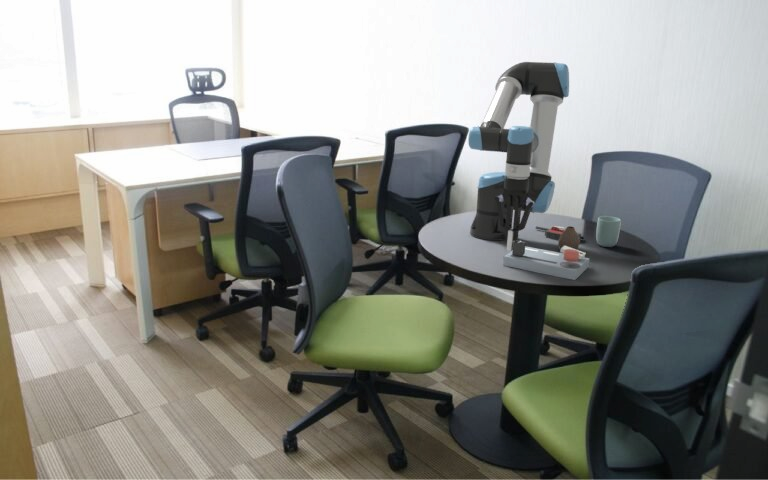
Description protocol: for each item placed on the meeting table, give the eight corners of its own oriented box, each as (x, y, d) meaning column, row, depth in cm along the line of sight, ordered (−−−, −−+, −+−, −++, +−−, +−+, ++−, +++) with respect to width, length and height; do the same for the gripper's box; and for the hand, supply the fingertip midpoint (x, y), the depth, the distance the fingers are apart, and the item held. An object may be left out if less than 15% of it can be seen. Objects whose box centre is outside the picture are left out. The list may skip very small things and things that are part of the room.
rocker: (559, 251, 202) (561, 248, 201) (563, 248, 205) (564, 245, 205) (581, 259, 199) (582, 255, 198) (584, 256, 202) (586, 252, 201)
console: (502, 265, 203) (504, 252, 202) (519, 253, 215) (520, 241, 214) (574, 280, 191) (576, 266, 190) (588, 267, 204) (589, 254, 202)
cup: (618, 249, 224) (622, 222, 221) (595, 247, 225) (599, 220, 222) (615, 243, 231) (619, 216, 228) (593, 241, 232) (596, 215, 230)
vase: (554, 251, 219) (556, 227, 217) (563, 247, 224) (565, 223, 222) (572, 256, 215) (575, 231, 212) (581, 251, 220) (584, 227, 217)
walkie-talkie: (586, 240, 235) (536, 230, 247) (587, 228, 234) (537, 219, 246) (577, 245, 229) (526, 234, 241) (578, 233, 228) (527, 223, 239)
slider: (512, 254, 203) (513, 242, 201) (515, 252, 205) (516, 239, 204) (521, 256, 201) (522, 243, 200) (524, 253, 204) (525, 241, 202)
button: (561, 259, 194) (562, 251, 193) (565, 256, 198) (566, 248, 197) (575, 262, 192) (576, 254, 191) (579, 259, 195) (580, 251, 195)
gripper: (492, 176, 198) (486, 248, 204) (532, 181, 191) (525, 256, 198) (502, 172, 204) (496, 243, 210) (541, 178, 197) (533, 250, 204)
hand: (510, 249), depth 204 cm, fingers closed
